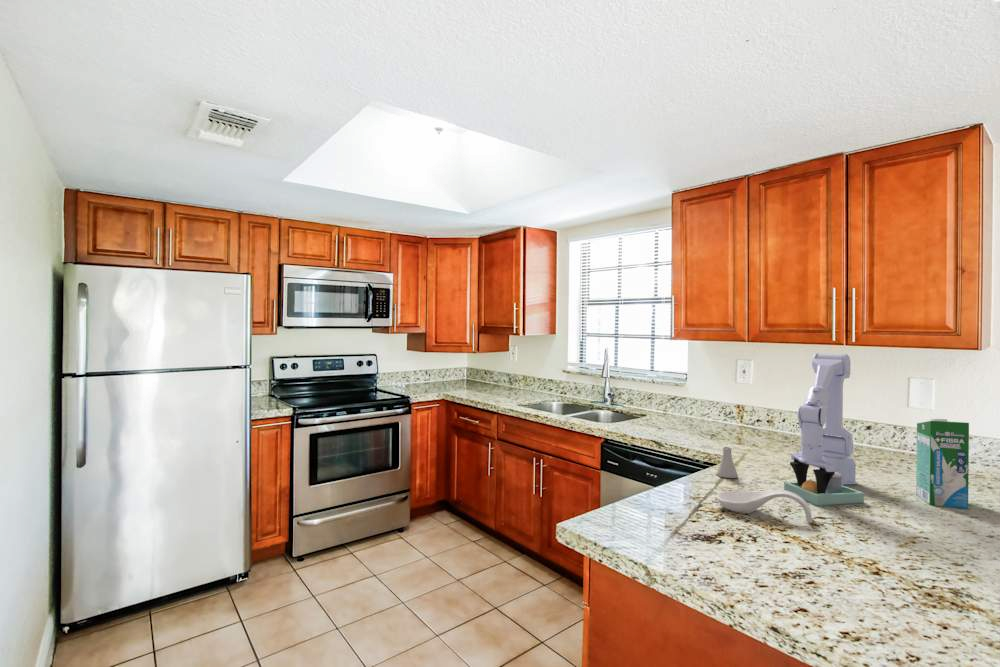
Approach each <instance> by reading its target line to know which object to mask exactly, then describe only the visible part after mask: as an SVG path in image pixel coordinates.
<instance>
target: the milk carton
mask: <svg viewBox="0 0 1000 667" xmlns="http://www.w3.org/2000/svg"><path fill="white" fill-rule="evenodd" d="M969 438H970V422H960V421H948V419H947V418H946V419H945V418H930V420H928V421H923V422H917V423H916V481H915V482H916V485H915V486H916V488H915V489H916V492H915V494H916V497H917V498H919V499H921V500H922V501H924V502H925V503H926V504H928V505H929V506H935V507H947V508H955V509H956V508H957V509H966V510H967V509H969V477H970V476H969V470H970V469H969V465H970V463H969V459H970V457H969V456H970V455H969V454H970V453H969V450H970V448H969V447H970V446H969V445H970V442H969V441H970V439H969Z"/></svg>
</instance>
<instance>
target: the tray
mask: <svg viewBox="0 0 1000 667" xmlns="http://www.w3.org/2000/svg"><path fill="white" fill-rule="evenodd" d="M814 481H815V482H816V480H814ZM783 486H784V487H783V490H786V491H790V492H792V493H795V494H797V495H798V496H800V497H801V498H803V499H804V500H805V501H806V502H807V503H809V504H811V505H814V506H816V507H822V506H836V505H854V504H864V503H865V492H862V491H859V490H857V489H854V488H851V487H848V486H846V485H842V493H833V494H824V493H821V494H815V493H813V492H810V491H808V490H805V489H803V488H802V486H799V485H798V482H797V481H787V482H783Z"/></svg>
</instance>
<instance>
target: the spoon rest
mask: <svg viewBox="0 0 1000 667" xmlns="http://www.w3.org/2000/svg"><path fill="white" fill-rule="evenodd" d="M715 497H716V500H717V501H718V503H719V504H720V505H721V506H722V507H724V508H725V509H727V510H729V511H731V512H734V511H735V512H734V513H737V512H742V513H741V514H745V513H748V514H752V513H753V512H755V511H756V510H758V509H759V508H760V507H762V506H764V505H765V504H766V503H767V502H769V501H771V500H773V499H775V498H781V497H783V498H784V497H785V498H788V499H791V500H793V501H795V502H796V503H798V505H800V506H801V507H802V509H803V511H804V513H805V519H806V522H807V523H808V524H812V523H813V519H812V511H811V508H810V506H809V504H808V502H807V501H805V500H804V499H803V498H801V497H800V496H798V495H797V494H795V493H792V492H790V491H786V490H784V489H767V490H757V491H755V490H754V491H753V490H752V491H751V490H750V491H748V490H746V491H745V490H729V491H721V492H719V493H717V494H716V496H715ZM751 512H752V513H751Z"/></svg>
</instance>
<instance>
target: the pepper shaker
mask: <svg viewBox="0 0 1000 667" xmlns="http://www.w3.org/2000/svg"><path fill="white" fill-rule="evenodd" d="M833 493H842V477H841V473H838V472H835V474H834V475H833V476H832V478H831V479H830V481H829V483H828V486H827V489H826V492H825V493H824V494H833Z"/></svg>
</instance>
